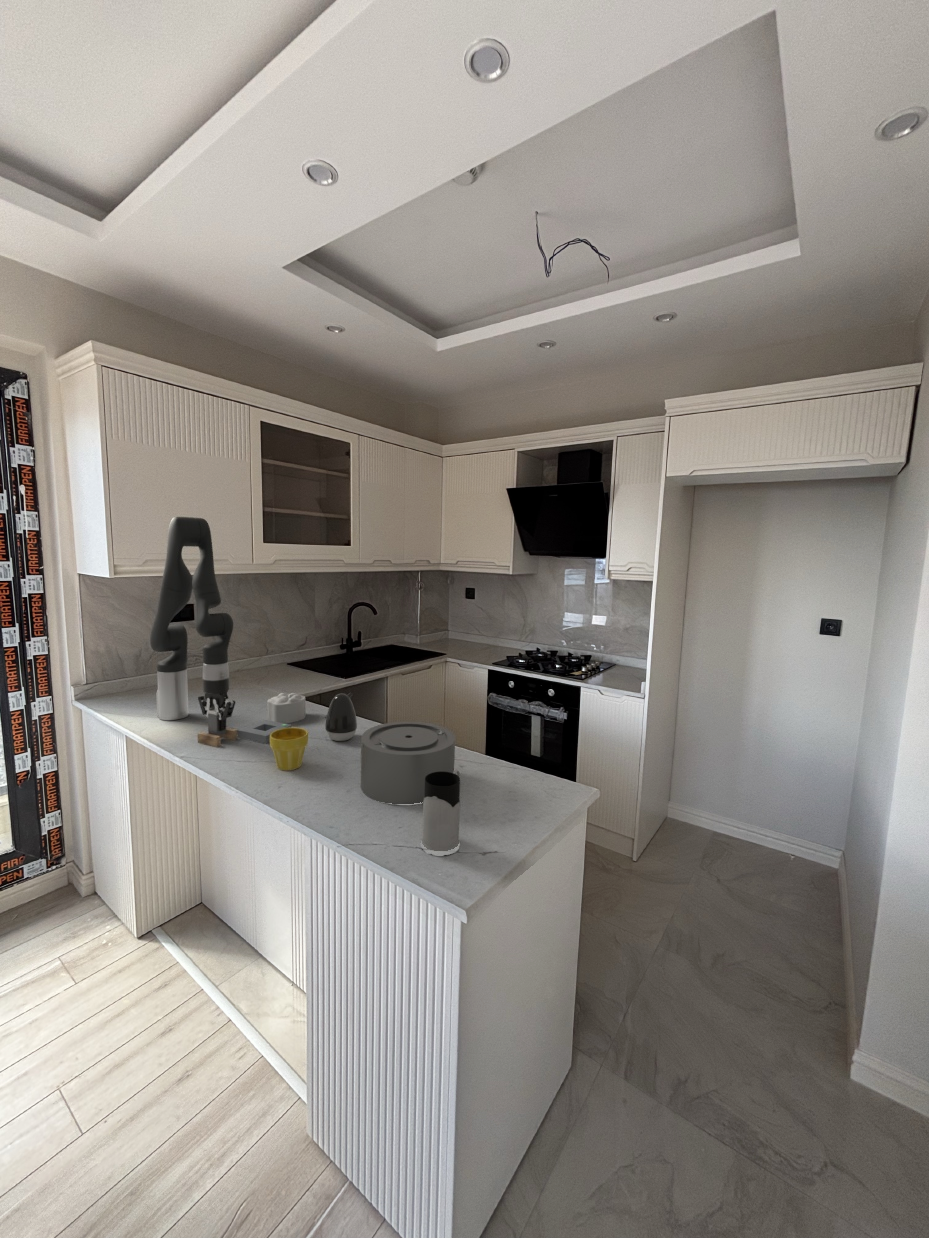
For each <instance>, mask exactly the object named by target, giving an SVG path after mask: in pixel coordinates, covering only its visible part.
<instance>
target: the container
mask: <svg viewBox="0 0 929 1238" xmlns="http://www.w3.org/2000/svg"><path fill="white" fill-rule="evenodd" d="M360 737H361V738H360V790H361V791H362V793H363V794H364V795H366V797H368V798H370V799H371V800H373V801H375V800H376V801H375V802H378V801H379V803H381V802H385V803H392V804H414V803H420V802H421V803H422V802H423V799H424V792H425V777H426V776H427V775H428V774H430V773H433V772H440V771H443V772H451V773H453V772H454V771H455V760H456V759H455V756H456V755H455V754H456V735H455V734H454V732H453V731H452V730H450V729H449V728H447V727H445V726H442V725H440V724H439V725H438V724H435V723H432V722H431V723H430V722H424V721H409V720H408V721H407V720H406V721H405V720H403V721H392V722H385V723H382V724H377V725H374V726H373V727H370V728H368V729H367V730H365V731H364V732H363V733H362V734H361V736H360ZM385 803H384V804H385Z"/></svg>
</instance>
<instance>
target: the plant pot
mask: <svg viewBox="0 0 929 1238" xmlns="http://www.w3.org/2000/svg"><path fill="white" fill-rule="evenodd" d="M308 744H309V732H308V730H307V729H305V728H302V727H295V726H294V727H293V726H292V727H289V728H282V729H278V730H275V731H273V732H272V733H271V734H270V742H269V747H270V748H271V749H272V751H273V755H274V759H275V764H276V767H277V769H278V770H281V771H293V770H296V769H298V768H301V766H302V763H303V761H304V754H305V750H306V746H308Z"/></svg>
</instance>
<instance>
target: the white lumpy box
mask: <svg viewBox="0 0 929 1238" xmlns="http://www.w3.org/2000/svg"><path fill="white" fill-rule="evenodd" d="M266 703H267V705H266V707H267V709H266V710H267V720H269V721H274V722H279V723H284V724H291V723H295V722H299V721H302V720H304V719H305V718H306V716H307V715H306V714H307V712H306V709H307V707H306V703H307V702H306V696H305V695H301V694H298V693H296V692H292V693H289V694H287V693H284V692H281V693H279V694H278V695H277V696H276V695H275V696H272V697H271V698H268V699H267V702H266Z"/></svg>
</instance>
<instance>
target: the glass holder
mask: <svg viewBox="0 0 929 1238" xmlns="http://www.w3.org/2000/svg"><path fill="white" fill-rule="evenodd" d="M460 788H461V772H460V770H457V769H454V772H453V773H451V772H443V771H440V772H433V773H430V774H428V775H427V776H426V777H425V792H424V799H423V804H422V806H423V807H422V809H423V810H422V838H421V840H422V844H423V845H424V847H426V848H427V849H430V850H434V851H448V850H451V849H454V848H455V847H457V846H458V844H459V841H460V812H461V800H460V790H461V789H460Z"/></svg>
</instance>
